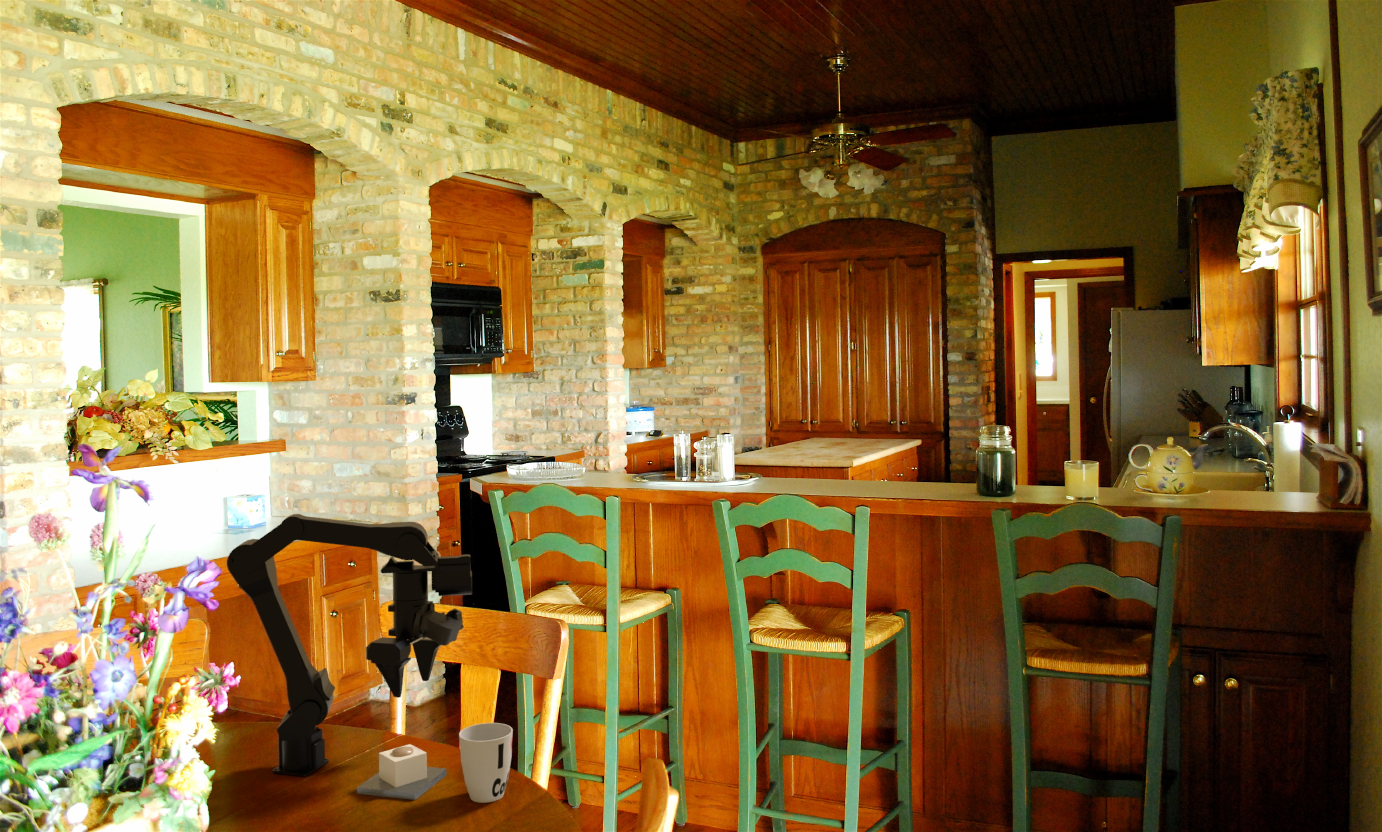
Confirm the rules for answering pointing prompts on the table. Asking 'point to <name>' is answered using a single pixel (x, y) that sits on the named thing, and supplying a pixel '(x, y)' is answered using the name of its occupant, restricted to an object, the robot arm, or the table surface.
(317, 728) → the robot arm
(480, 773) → the cup
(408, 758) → the cap
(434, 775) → the post fixture
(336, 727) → the table surface
